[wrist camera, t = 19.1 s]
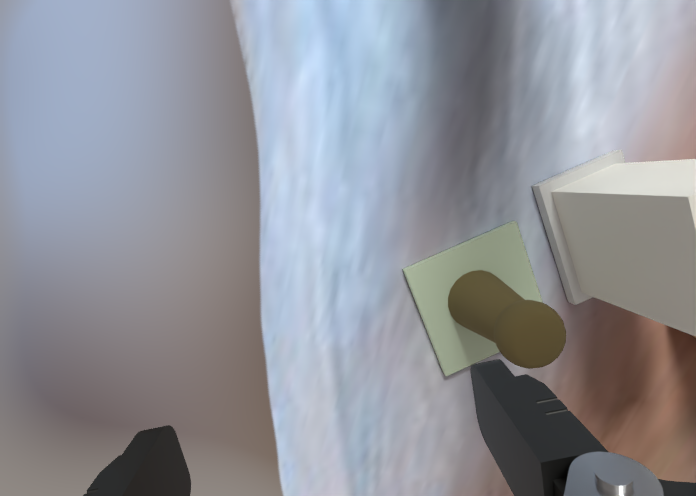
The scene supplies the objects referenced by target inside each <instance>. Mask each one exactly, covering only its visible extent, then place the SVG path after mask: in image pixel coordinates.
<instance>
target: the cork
mask: <svg viewBox="0 0 696 496" xmlns="http://www.w3.org/2000/svg"><path fill="white" fill-rule="evenodd" d="M448 308H449V311H450V314H451V316H452V317H453V319H454V320H455V321H456V322H457V323H458V324H460V325H461V326H463V327H465V328H467V329H469V330H471V331H473V332H475V333H477V334H479V335H481V336H483V337H485V338H487V339H488V340H490V341H492V342H494V343H496V346H497V348H498V350H499V351H500V352H501V353H502V355H503V356H504V357H505V358H506V359H507V360H509V361H510V362H512V363H513V364H515V365H517V366H520V367H524V368H529V369H530V368H539V367H543V366H546V365H548V364H550V363H552V362H553V361H554V360H555V359H556V358H558V356H559V355H560V353H561V352H562V350H563V348H564V345H565V342H566V330H565V327H564V323H563V320H562V319H561V318H560V316H559V315H558V313H557V312H556V311H555V310H554V309H552V308H551V307H549V306H548V305H546V304H544V303H542V302H538V301H534V300H525V299H524V298H522V297H521V296H520V295H519V294H517V293H516V292H515V291H514V290H513V289H511V288H510V287H509V286H508V285H506V284H505V283H504V282H503V281H502V280H500V279H499V278H498V277H497V276H495V275H494V274H492V273H491V272H487V271H483V270H477V271H471V272H468V273H466V274H464V275H462V276H461V277H460V278H459V279H457V280H456V282H455V283H454V285H453V286H452V287H451V289H450V293H449V296H448Z"/></svg>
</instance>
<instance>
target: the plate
mask: <svg viewBox="0 0 696 496" xmlns="http://www.w3.org/2000/svg"><path fill="white" fill-rule="evenodd" d="M402 270H403V272H404V275H405V277H406V280H407V282H408V285H409V287H410V290H411V292H412V295H413V298H414V300H415V303H416V305H417V308H418V310H419V313H420V315H421V318H422V320H423V323H424V325H425V328H426V330H427V333H428V336H429V338H430V341H431V343H432V346H433V348H434V351H435V353H436V356H437V358H438V361H439V363H440V366H441V368H442V371H443V373H444V375H445V376H448V375H451V374H453V373H455V372H457V371H459V370H462V369H464V368H466V367H468V366H470V365H473V364H475V363H477V362H479V361H481V360H483V359H486V358H488V357H490V356H492V355H494V354H497V353H499V352H500V351H499V350H498V348H497V346H496V343H494V342H492V341H490V340H488V339H487V338H485V337H483V336H481V335H479V334H477V333H475V332H473V331H471V330H469V329H467V328H465V327H463V326H461V325H460V324H458V323H457V322H456V321H455V320H454V319H453V317H452V316H451V314H450V311H449V308H448V296H449V293H450V289H451V287H452V286H453V285H454V283H455V282H456V280H457V279H459V278H460V277H461V276H462V275H464V274H466V273H468V272H471V271H477V270H483V271H487V272H491V273H492V274H494V275H495V276H497V277H498V278H499V279H500V280H502V281H503V282H504V283H505V284H506V285H508V286H509V287H510V288H511V289H513V290H514V291H515V292H516V293H517V294H519V295H520V296H521V297H522V298H524V299H525V300H534V301H538V302H542V299H541V295H540V292H539V289H538V286H537V283H536V280H535V277H534V274H533V271H532V268H531V265H530V262H529V259H528V256H527V252H526V249H525V246H524V243H523V240H522V237H521V234H520V231H519V228H518V225H517V222H515V221H511V222H509V223H507V224H504V225H502V226H500V227H497V228H495V229H493V230H491V231H488V232H486V233H484V234H481V235H479V236H477V237H475V238H472V239H470V240H468V241H466V242H463V243H461V244H459V245H456V246H454V247H452V248H450V249H447V250H445V251H443V252H440V253H438V254H436V255H434V256H431V257H429V258H427V259H424V260H422V261H420V262H418V263H415V264H413V265H411V266H408V267H406V268H404V269H402ZM542 303H543V302H542Z"/></svg>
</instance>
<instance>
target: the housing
mask: <svg viewBox="0 0 696 496" xmlns="http://www.w3.org/2000/svg"><path fill="white" fill-rule="evenodd" d="M532 188H533V191H534V194H535V197H536V201H537V204H538V207H539V210H540V213H541V217H542V220H543V223H544V226H545V229H546V233H547V236H548V239H549V242H550V246H551V249H552V252H553V255H554V258H555V262H556V265H557V268H558V271H559V274H560V278H561V281H562V284H563V287H564V290H565V294H566V297H567V300H568V302H570V303H572V304H574V305H577V304H579V303H582V302H584V301H586V300H588V299H590V298H593V297H595V298H597V299H600V300H602V301H605V302H608V303H610V304H613V305H615V306H618V307H620V308H623V309H626V310H628V311H631V312H633V313H636V314H639V315H641V316H644V317H646V318H649V319H652V320H654V321H657V322H659V323H662V324H664V325H667V326H670V327H672V328H675V329H677V330H680V331H683V332H685V333H688V334H690V335H693V336H695V337H696V159H687V160H670V161H652V162H635V163H625V160H624V156H623V152H622V150H615V151H611V152H609V153H606V154H604V155H602V156H599V157H597V158H595V159H592V160H590V161H588V162H586V163H583V164H581V165H579V166H576V167H574V168H572V169H569V170H567V171H565V172H562V173H560V174H558V175H556V176H553V177H551V178H549V179H546V180H544V181H542V182H539V183H537V184H535V185H533V186H532Z"/></svg>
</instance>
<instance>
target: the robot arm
mask: <svg viewBox="0 0 696 496" xmlns="http://www.w3.org/2000/svg"><path fill="white" fill-rule="evenodd" d="M471 378H472V384H473V391H474V398H475V405H476V412H477V418H478V423H479V426H480V430H481V433H482V435H483V438H484V440H485V442H486V444H487V446H488V448H489V450H490V452H491V454H492V455H493V457H494V459H495V461H496V463H497V465H498V466H499V468H500V470H501V472H502V474H503V476H504V478H505V479H506V481H507V483H508V485H509V487H510V489H511V491H512V492H513V494H514V496H696V483H689V482H674V481H665V480H660V479H657V477H656V476H655V475H654V474H653V473H652V472H651V471H650V470H649V469H647V468H646V467H645V466H643V465H642V464H640V463H639V462H637V461H635V460H633V459H631V458H628V457H625V456H623V455H619V454H615V453H610V452H608V451H607V450H606V449H605V448H604V447H603V446H602V445H601V443H600V442H599V441H598V440H597V439H596V438H595V437H594V436H593V435H592V434H591V433H590V432H589V431H588V430H587V429H586V428H585V426H584V425H583V424H582V423H581V422H580V421H579V420H578V419H577V418H576V417H575V416H574V415H573V414H572V413H571V412H570V411H568V409H567V407H566V406H565V405H564V404H563V403H562V402H561V401H560V400H558V399H557V397H556V396H555V395H554V393H553V392H552V391H551V390H550V389H549V388H548V387H547V386H546V385H545V384H544V383H542V382H540V381H538V380H536V379H534V378H532V377H530V376H528V375H526V374H525V375H520V376H516V377H515V376H514V375H513V374H512V373H511V371H510V370H509V369H508V368H507V367H506V365H505V364H504V363H503V362H502V361H501V360H500V359H498V360H493V361H488V362H483V363H478V364H473V365H471ZM190 491H191V480H190V474H189V471H188V468H187V465H186V462H185V459H184V456H183V453H182V450H181V447H180V444H179V442H178V438H177V435H176V433H175V431H174V429H173V427H171V426H163V427H158V428H153V429H148V430H143V431H140V432H138V433H137V434H136V436H135V437H134V438H133V440H132V441H131V443H130V444H129V445H128V447H127V448H126V450H125V451H124V453H123V454H122V455H120V456H118V457H117V458H116V459H115V460H114V461H113V462H111V463H110V464H109V465H108V466H107V467H106V468H105V469H104V470H102V471H101V472H100V473H99V475H98V476H97V478H96V479H95V480H94V481H93V483H92V484H91V486H90V487H89V488H88V490H87V494H84V495H83V496H190Z"/></svg>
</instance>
